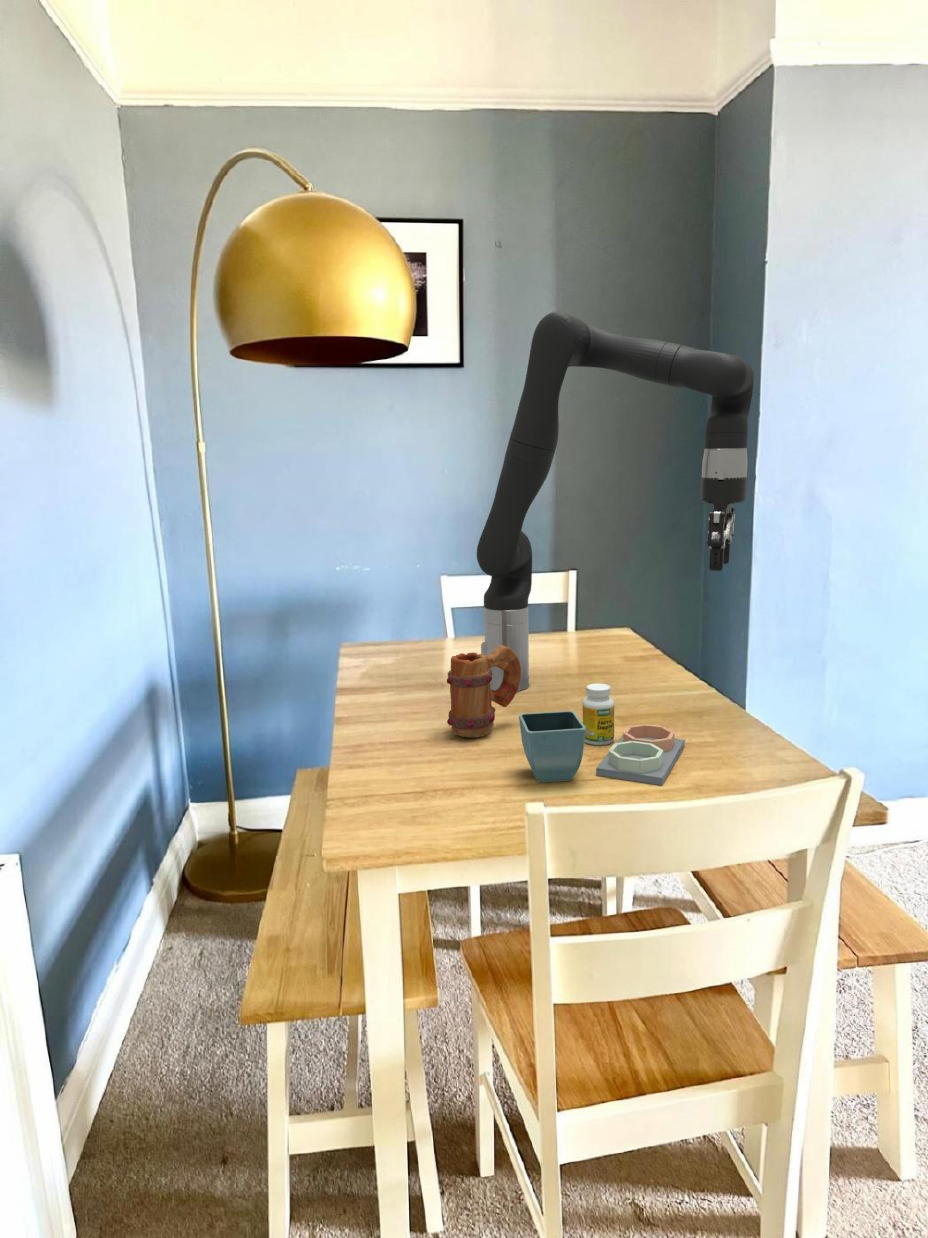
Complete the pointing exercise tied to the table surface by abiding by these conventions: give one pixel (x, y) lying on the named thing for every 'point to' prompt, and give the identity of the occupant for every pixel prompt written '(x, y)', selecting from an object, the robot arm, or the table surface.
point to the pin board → (642, 755)
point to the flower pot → (553, 744)
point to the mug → (480, 690)
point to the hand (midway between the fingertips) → (719, 566)
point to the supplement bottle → (598, 715)
